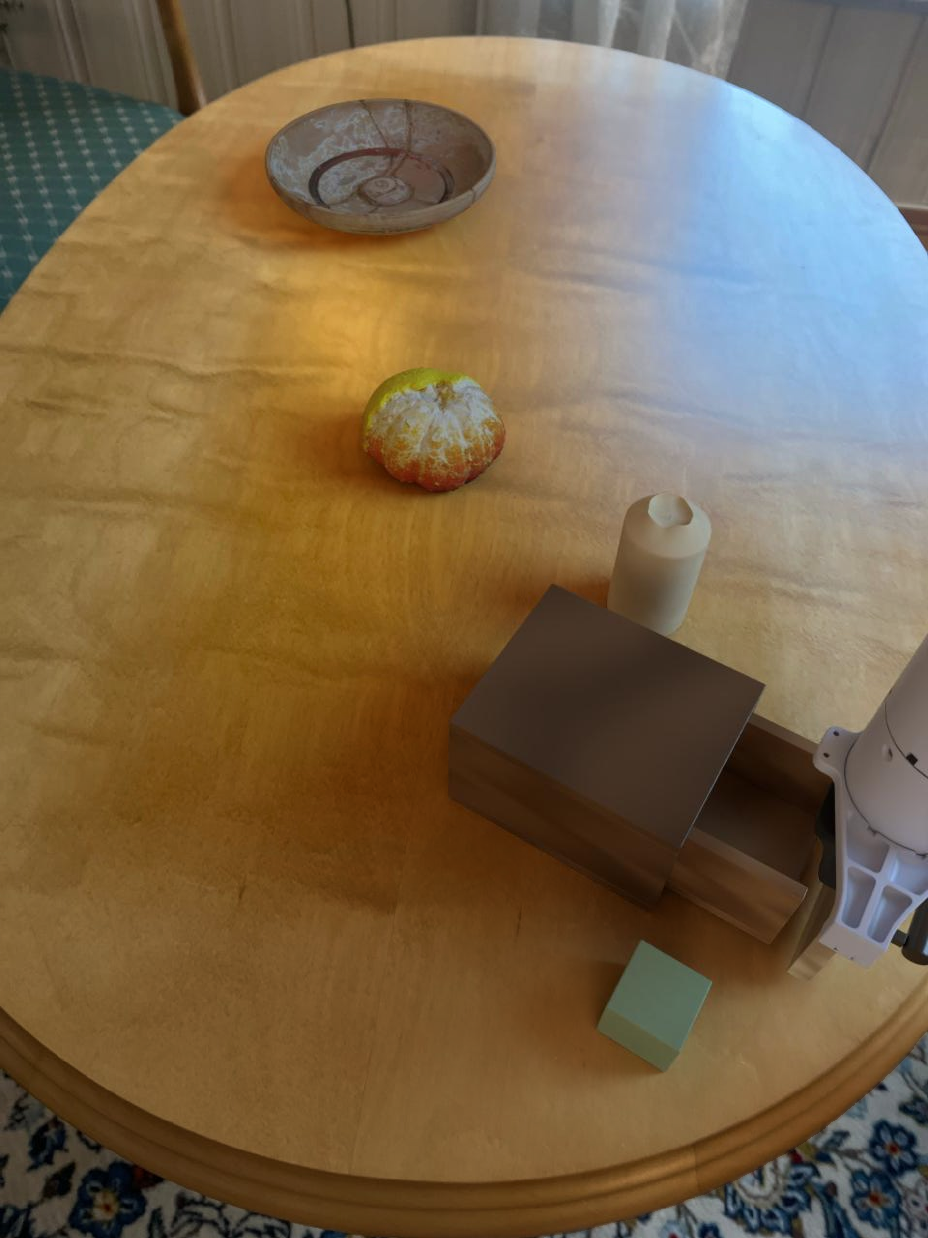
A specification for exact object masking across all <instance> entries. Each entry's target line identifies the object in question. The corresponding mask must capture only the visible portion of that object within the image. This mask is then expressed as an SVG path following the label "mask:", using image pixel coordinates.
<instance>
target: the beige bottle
mask: <svg viewBox="0 0 928 1238" xmlns="http://www.w3.org/2000/svg"><path fill="white" fill-rule="evenodd" d="M712 531H713V529H712V524H711V521H710V519H709V517H708V515H707V514H706V513H705V511H704V510H703V509H702V508H700V506H698V505H697V504H696V503H694V502H693V501H691V500H689V499H687V498H686V497H683V496H681V495H679V494H677V493H675V492H672V491H663V492H660V493H656V494H652V495H647V496H644V497H641V498H640V499H637V500H635V502H633V503H632V504H630V506H629V507H628V508H627V511H626V512H625V515H624V517H623V523H622V528H621V532H620V537H619V541H618V546H617V551H616V555H615V561H614V566H613V569H612V574H611V579H610V584H609V588H608V593H607V600H606V605H607V606H606V607H607V608H606V609H608V610H610V611H612V612H615V613H617V614H619V615H621V616H623V617H625V618H627V619H629V620H631V621H633V622H636V623H638V624H640V625H642V626H644V627H646V628H648V629H650V630H652V631H654V632H657V633H659V634H661V635H663V636H665V637H668V636H670V635H672V634H673V633H675V632H676V631H677V630H679V628H680V627H681V626H682V624H683V622H684V620H685V619H686V618H685V617H686V615H687V613H688V609H689V606H690V603H691V600H692V597H693V593H694V591H695V587H696V585H697V581H698V578H699V575H700V572H701V568H702V566H703V562H704V560H705V557H706V554H707V550H708V548H709V544H710V541H711V537H712Z"/></svg>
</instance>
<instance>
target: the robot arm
mask: <svg viewBox="0 0 928 1238" xmlns="http://www.w3.org/2000/svg"><path fill="white" fill-rule="evenodd" d="M818 744H819V745H818V747H817V749H816V752H815V754H814V756H813V764H814V766H815V767H816V768H817V769H818V770H819V771H821V772H823V773H825V774H827V775H828V776H830V777H831V778H832V779H833V782H832V783H831V784H830V786H829V788H828V790H827V792H826V795H825V797H824V799H823V801H822V803H821V805H820V808H819V810H818V812H817V815H816V819H815V828H814V833H815V835H816V836H817V840H819V842H820V843H821V846H822V853H821V857H820V860H819V864H818V868H817V879H818V882H820V883H821V884H825V885H827V886H829V887H830V888H832V889H834V890H836V899H835V905H834V910H833V913H832V914H831V916H830V917H829V918H828V919H827V920H826V922H825V923H824V925H823V927H822V929H821V932H820V934H819V937H818V942H820V943H822V944H823V945H825V946H827V947H829V948H830V949H832V950H833V951H835V952H836V954H839V955H841V956H842V957H844V958H846V959H847V960H849V961H852V962H853V963H855V964H857V965H858V966H861V967H862V968H864V969H866V970H868V969H869V968H870V967H872V966H873V965H874V964H875V963H876V962H877V961H878V960H879V959H880V958H881V957H882V956H884V954H886V953H887V951H888V950H889V949H888V948H889V946H890V944H891V940H892V938H893V935H894V934H895V932H896V930H897V929H898V930H899V928H900V926H901V925H902V923H904V921H905V920H906V919H907V918H908V917H909V916H910V915H911V914H912V913H914V912H915V909H916V908H917V907H918V906H919V905H920V904H921V903H922V902H923V901H924V900H925V899H927V898H928V633H926V635H925V637H924V638H923V639H922V641H921V643H920V644H919V646H918V647H917V648H916V650H915V651H914V653H913V655H912V656H911V657H910V659H909V661H908V662H907V664H906V665H905V667H904V668H903V669H902V671H901V673H900V674H899V676H898V678H897V679H896V680H895V682H894V683H893V685H892V686H891V688H890V690H889V691H888V693H886V695H885V697H884V699H883V700H882V701H881V703H880V705H879V706H878V708H877V709H876V710H875V712H874V714H873V716H872V717H871V718H870V720H869V721H868V722H867V725H866V726H865V727H864V729H862V730H860V731H858V732H853V731H850V730H847V729H846V728H844V727H841V726H838V725H833V726H829V727H828V728H827V729H826V731H825V732H824V734H823V735H822V737H821V739H820V741H819V743H818Z"/></svg>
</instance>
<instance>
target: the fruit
mask: <svg viewBox="0 0 928 1238" xmlns="http://www.w3.org/2000/svg"><path fill="white" fill-rule="evenodd" d="M506 433H507V432H506V426H505V424H504V421H503V418H502V414H501V412H500V411H499V409H498V408H497V407H496V406H495V403H494V401H493V399H492V398H491V397H490V394H489V393H488V392H487V391H485V389H484V388H483V385H481V384H480V383H479V382H478V381H477V380H475V379H474V378H472V377H470V376H469V375H466V374H464V373H462V372H457V371H451V370H450V371H447V370H441V369H436V368H433V367H424V366H421V367H413V368H411V369H407V370H404V371H401V372H398V373H395V374H394V375H391V376H390V377H388V378H387V379H385V380H383V382H382V383H380V384H379V385H378V387H377V388H376V389H375V390H374V391H373V393H372V395H370V398H369V399H368V402H367V404H366V406H365V409H364V411H363V414H362V419H361V437H360V438H361V445H362V450H363V452H364V454H366V455H368V456H370V457H372V458H373V459H374V461H375V462H377V463H378V464H379V465H381V466H383V467H384V469H385V470H386V472H388V473H389V474H390V475H391V476H392V477H393V478H394V479H396V480H398V481H400V483H408V484H410V483H411V484H412V483H416V484H418V485H420V486H421V487H422V488H424V490H426V491H429V492H431V493H433V492H434V493H435V494H437V493H438V492H442V491H444V492H448V491H452V492H454V491H456V490H459V488H460V487H463V486H464V485H465V484H466V485H467V484H469V483H471V482H473V481H475V480H476V479H477V478H478V477H479V476H480V475H482V474H484V473H486V470H487V469H488V468H490V466H491V465H492V464H493V463H494V461H495V460H496V459H497V458H498V457H500V455H501V453H502V451H503V449H504V444H505V441H506Z"/></svg>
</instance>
